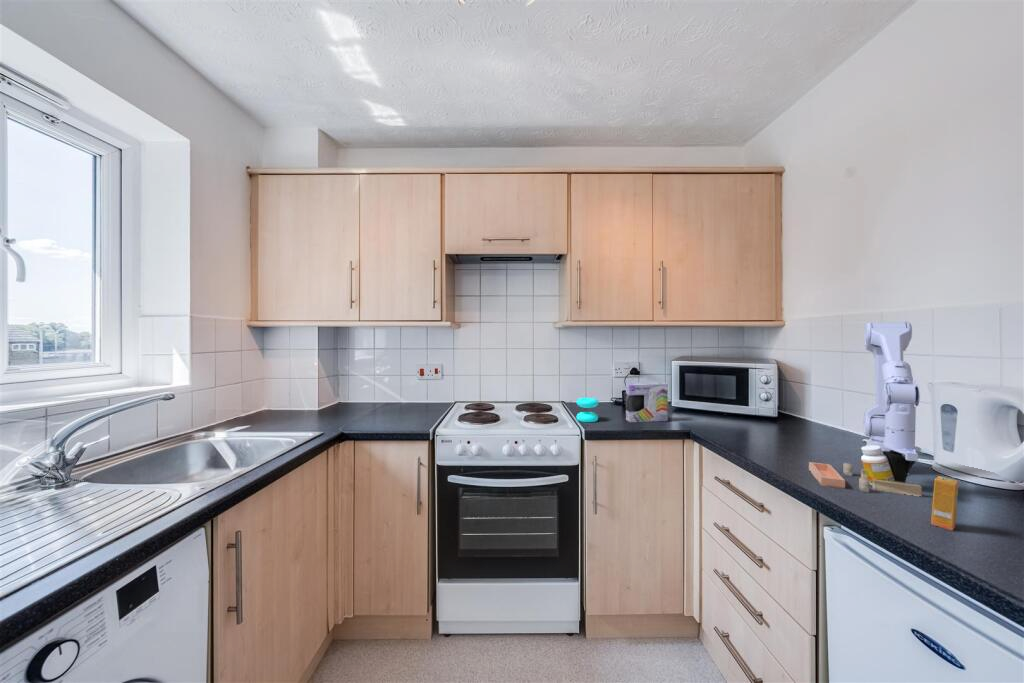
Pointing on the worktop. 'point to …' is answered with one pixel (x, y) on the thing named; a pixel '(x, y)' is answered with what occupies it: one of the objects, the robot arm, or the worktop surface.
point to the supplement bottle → (876, 464)
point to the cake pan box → (646, 402)
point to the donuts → (587, 404)
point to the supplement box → (944, 502)
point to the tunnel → (883, 484)
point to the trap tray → (826, 475)
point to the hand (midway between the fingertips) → (898, 480)
